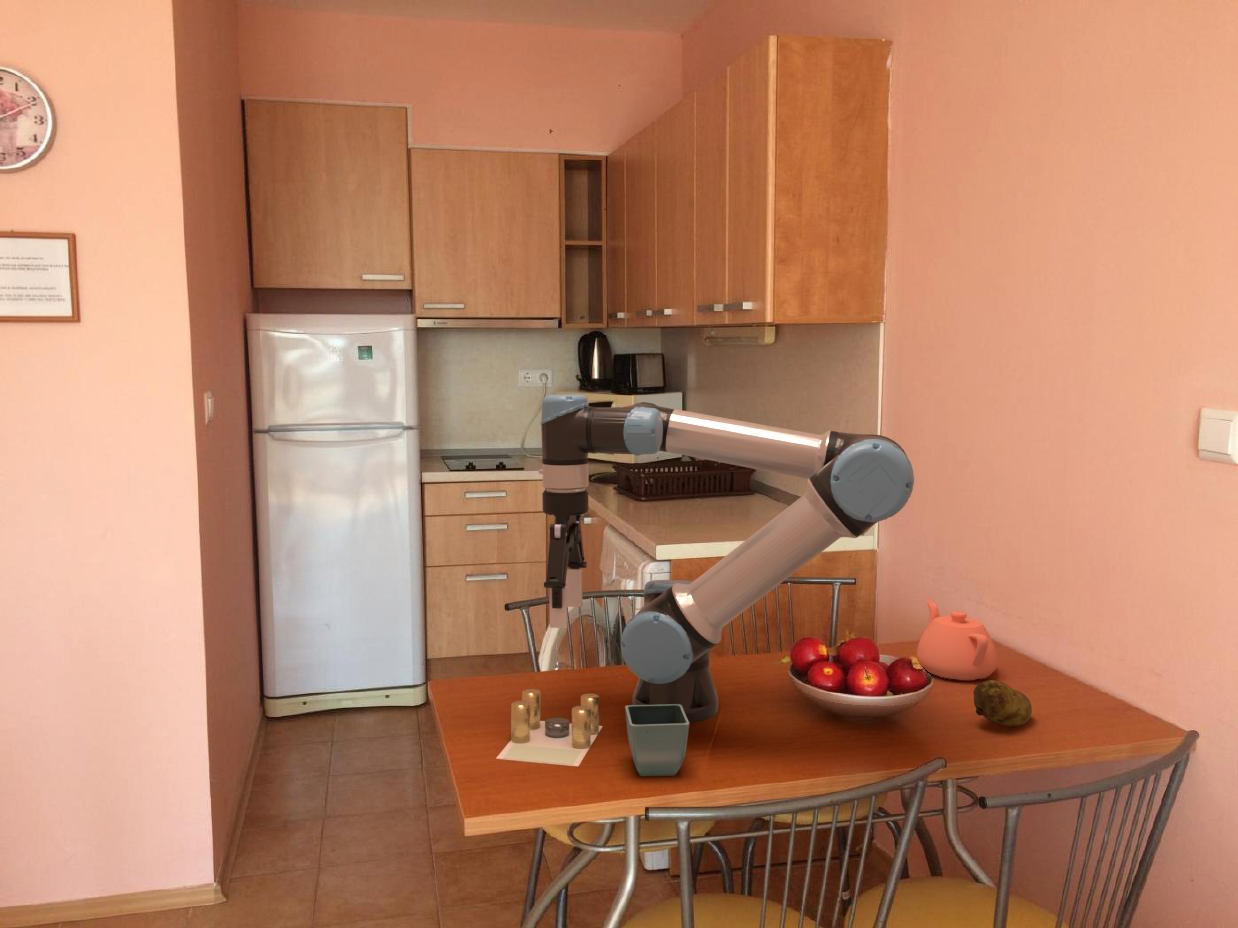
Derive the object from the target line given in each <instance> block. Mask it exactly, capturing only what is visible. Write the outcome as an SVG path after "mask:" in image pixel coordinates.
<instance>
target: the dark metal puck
mask: <svg viewBox="0 0 1238 928" xmlns="http://www.w3.org/2000/svg"><path fill="white" fill-rule="evenodd" d="M544 721H545V735H546V736H547V737H550V738H564V737H567V736H568V735H569V723H570V720H569V719H567V718H564V717H552V718H547V719H545V720H544Z"/></svg>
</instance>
